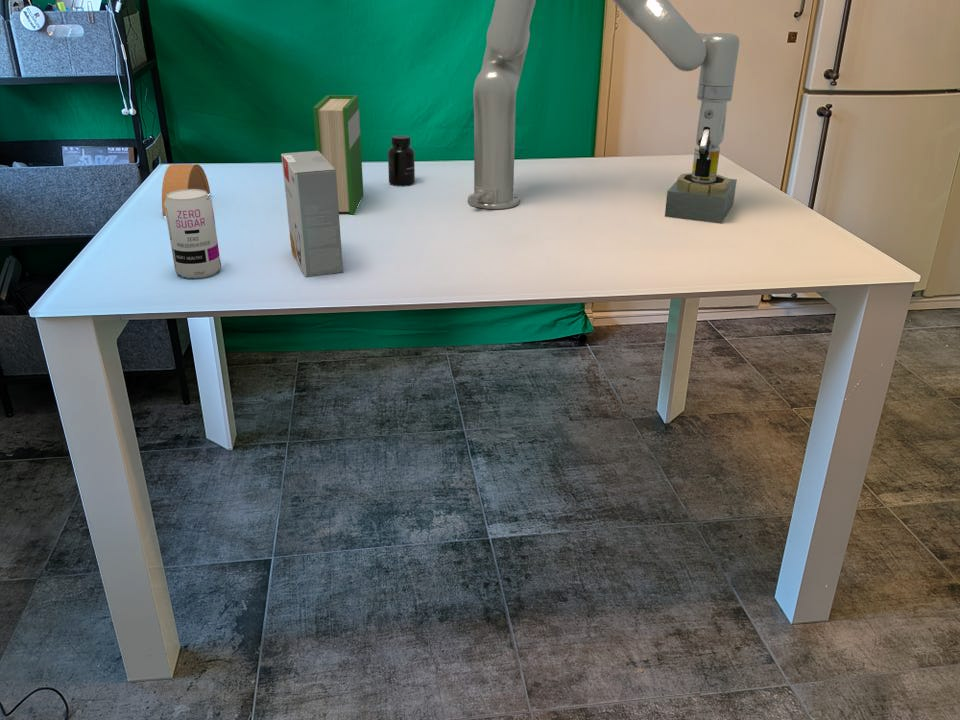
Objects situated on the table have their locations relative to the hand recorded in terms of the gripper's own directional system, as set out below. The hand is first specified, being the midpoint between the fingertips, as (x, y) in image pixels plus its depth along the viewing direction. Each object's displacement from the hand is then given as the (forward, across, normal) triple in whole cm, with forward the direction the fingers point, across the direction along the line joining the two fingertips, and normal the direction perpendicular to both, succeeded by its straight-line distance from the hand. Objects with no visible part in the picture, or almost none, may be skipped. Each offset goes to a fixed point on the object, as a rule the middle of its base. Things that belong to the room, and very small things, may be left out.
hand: (704, 172), depth 191 cm
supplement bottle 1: (+9, -8, +76) cm, 77 cm away
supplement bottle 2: (+2, 0, 0) cm, 2 cm away
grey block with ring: (+9, +2, 0) cm, 9 cm away
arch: (+10, -49, +111) cm, 122 cm away
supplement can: (+10, -83, +79) cm, 115 cm away
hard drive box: (+10, -69, +62) cm, 93 cm away
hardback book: (+10, -32, +79) cm, 86 cm away
